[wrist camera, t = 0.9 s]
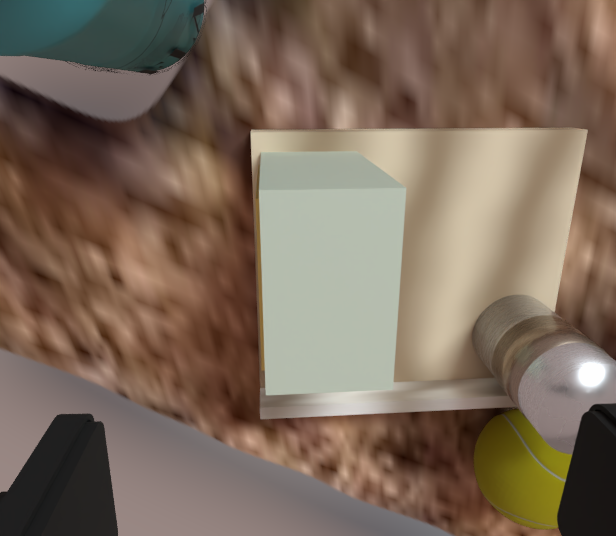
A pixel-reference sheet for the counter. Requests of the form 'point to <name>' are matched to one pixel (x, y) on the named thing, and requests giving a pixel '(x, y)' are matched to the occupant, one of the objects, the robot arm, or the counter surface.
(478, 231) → the shelf board
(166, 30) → the beverage bottle
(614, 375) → the metal tin
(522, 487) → the tennis ball
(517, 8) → the counter surface
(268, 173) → the carton
